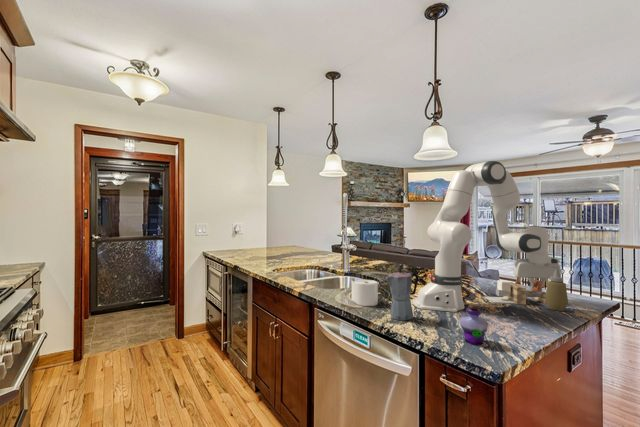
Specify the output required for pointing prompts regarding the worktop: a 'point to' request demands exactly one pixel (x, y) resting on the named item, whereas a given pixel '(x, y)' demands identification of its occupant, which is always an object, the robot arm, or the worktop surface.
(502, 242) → the robot arm
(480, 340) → the potion bottle
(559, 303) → the squeeze bottle
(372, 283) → the toilet tissue
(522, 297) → the bearing block
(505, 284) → the block
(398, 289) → the moka pot
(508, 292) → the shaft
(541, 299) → the rear saddle
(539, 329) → the worktop surface
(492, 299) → the mat
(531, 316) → the worktop surface
